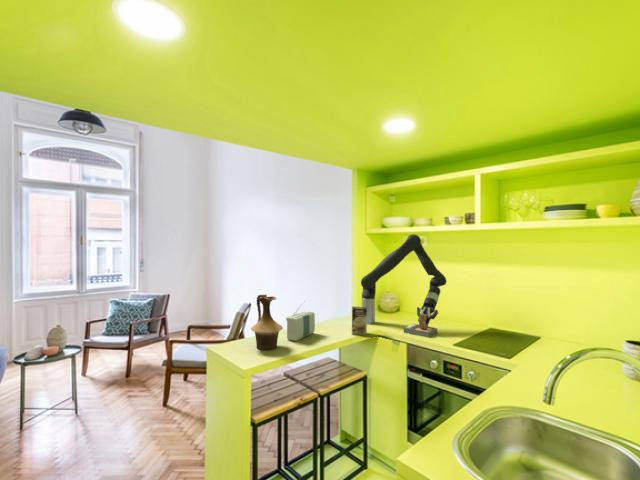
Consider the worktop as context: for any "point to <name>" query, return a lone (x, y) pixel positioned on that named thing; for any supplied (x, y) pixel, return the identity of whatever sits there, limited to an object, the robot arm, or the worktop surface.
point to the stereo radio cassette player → (300, 325)
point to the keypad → (412, 330)
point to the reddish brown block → (423, 321)
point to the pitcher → (266, 325)
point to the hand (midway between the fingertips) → (423, 322)
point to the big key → (424, 330)
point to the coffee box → (359, 321)
